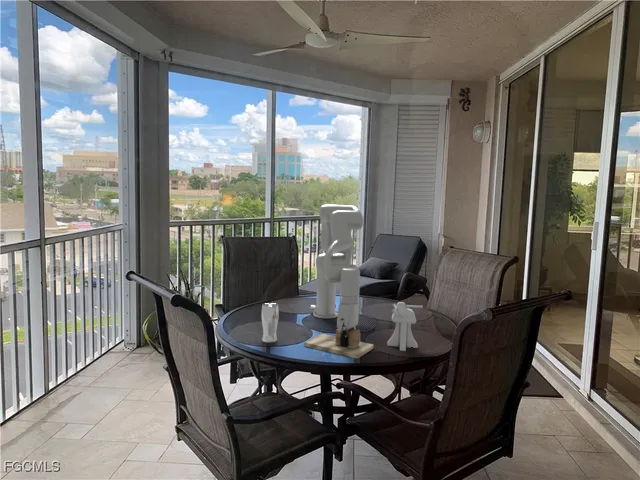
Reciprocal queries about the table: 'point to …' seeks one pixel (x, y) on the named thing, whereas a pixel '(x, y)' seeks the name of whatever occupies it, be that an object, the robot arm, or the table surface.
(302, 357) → the table surface
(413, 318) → the toy gun turret
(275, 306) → the beer glass
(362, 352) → the board
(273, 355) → the table surface
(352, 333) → the block
